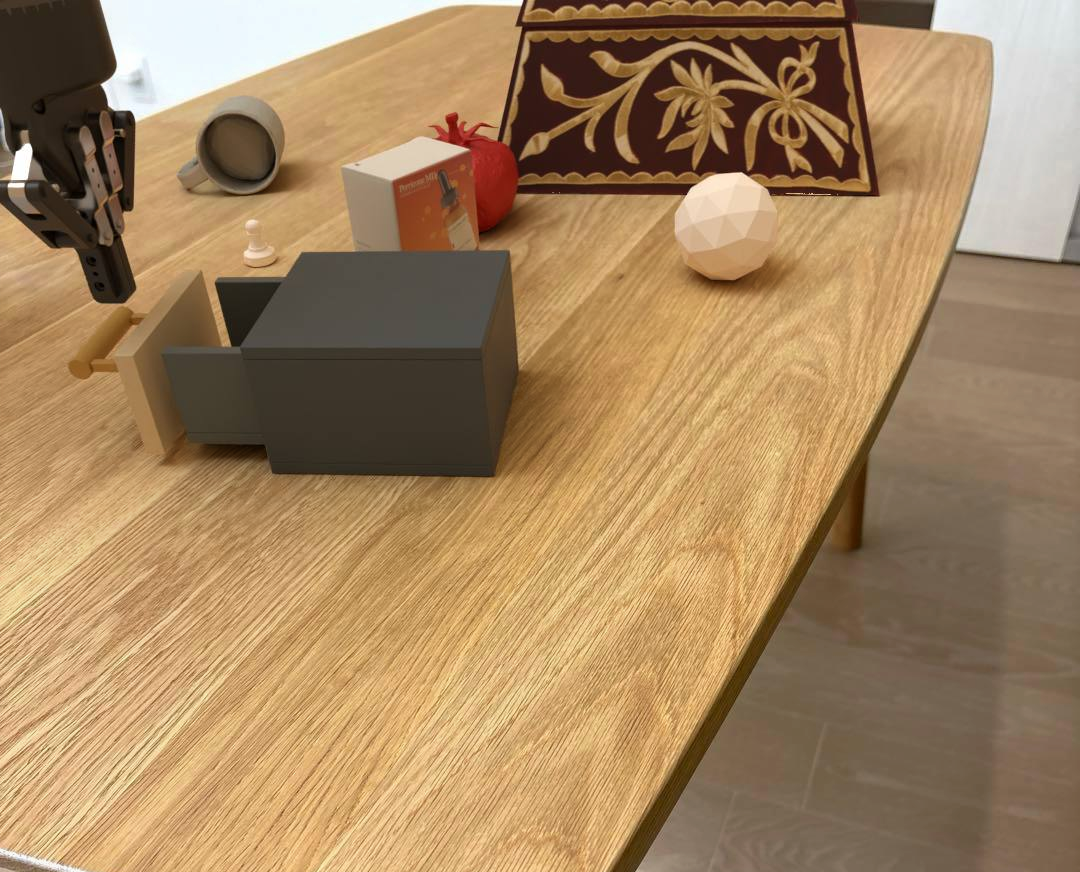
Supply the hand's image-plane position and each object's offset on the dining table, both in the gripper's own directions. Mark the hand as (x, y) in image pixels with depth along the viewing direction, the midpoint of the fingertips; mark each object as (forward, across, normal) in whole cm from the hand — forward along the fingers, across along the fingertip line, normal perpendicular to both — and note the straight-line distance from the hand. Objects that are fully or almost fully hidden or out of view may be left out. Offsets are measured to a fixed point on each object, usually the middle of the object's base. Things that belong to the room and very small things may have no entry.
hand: (116, 298), depth 65 cm
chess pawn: (+9, -24, 0) cm, 26 cm away
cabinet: (+8, 0, +17) cm, 19 cm away
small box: (+9, -18, +15) cm, 25 cm away
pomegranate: (+9, -32, +16) cm, 37 cm away
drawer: (+8, 0, +6) cm, 10 cm away
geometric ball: (+8, -21, +38) cm, 44 cm away
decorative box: (+8, -47, +35) cm, 59 cm away
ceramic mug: (+9, -42, -8) cm, 44 cm away
